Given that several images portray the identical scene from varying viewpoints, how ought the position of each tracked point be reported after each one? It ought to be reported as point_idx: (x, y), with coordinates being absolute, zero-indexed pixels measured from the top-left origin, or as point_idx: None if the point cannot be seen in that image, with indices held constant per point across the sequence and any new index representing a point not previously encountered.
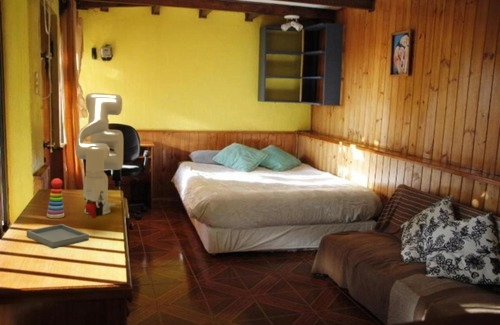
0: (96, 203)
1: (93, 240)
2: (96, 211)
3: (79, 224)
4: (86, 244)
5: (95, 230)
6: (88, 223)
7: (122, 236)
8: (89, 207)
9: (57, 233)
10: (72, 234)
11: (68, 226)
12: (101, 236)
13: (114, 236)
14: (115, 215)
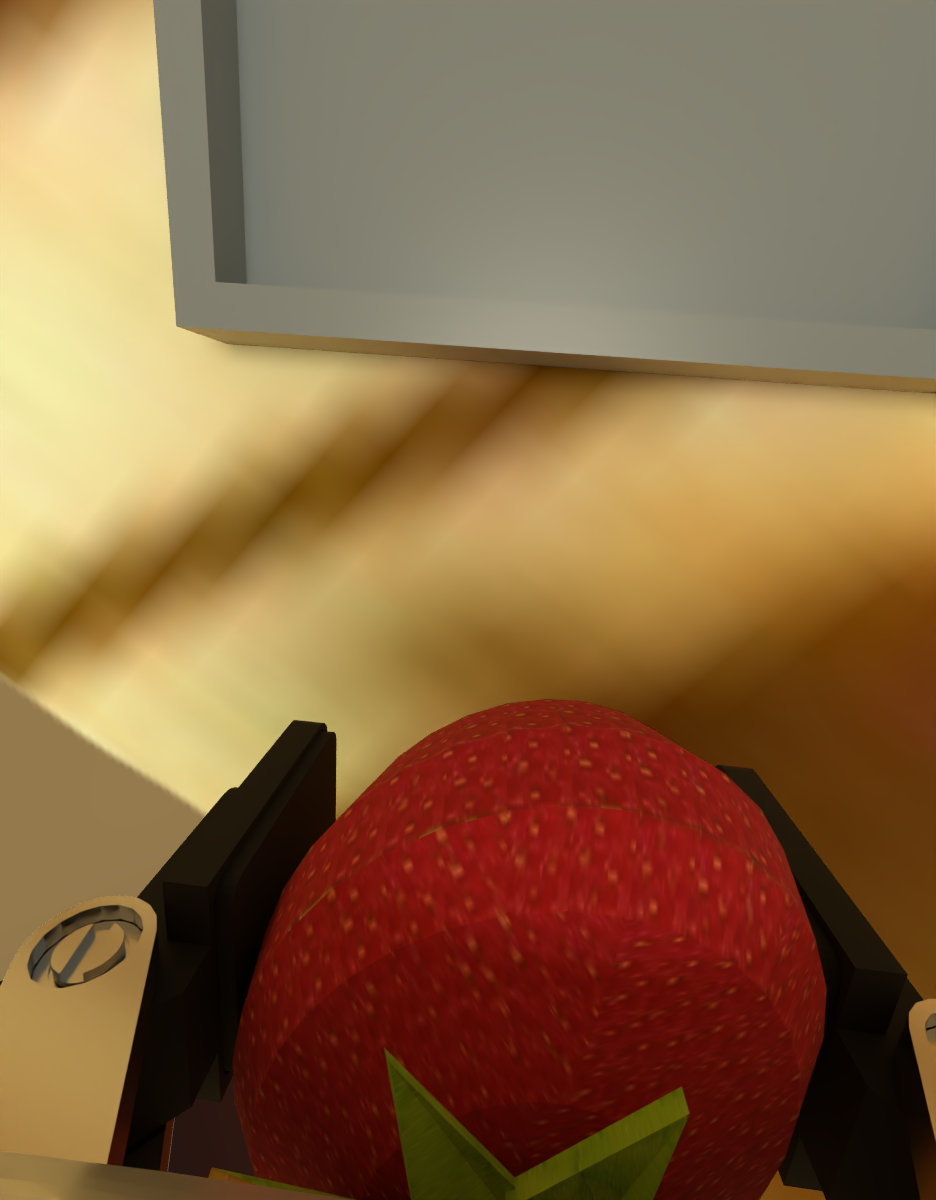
0: (86, 1087)
1: (175, 385)
2: (236, 790)
3: (914, 731)
4: (68, 175)
5: (530, 696)
6: (844, 832)
7: (111, 748)
8: (452, 779)
9: (782, 96)
10: (540, 270)
11: (810, 367)
12: (262, 580)
13: (165, 688)
14: (821, 1191)
